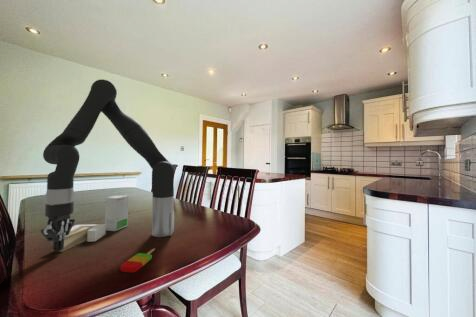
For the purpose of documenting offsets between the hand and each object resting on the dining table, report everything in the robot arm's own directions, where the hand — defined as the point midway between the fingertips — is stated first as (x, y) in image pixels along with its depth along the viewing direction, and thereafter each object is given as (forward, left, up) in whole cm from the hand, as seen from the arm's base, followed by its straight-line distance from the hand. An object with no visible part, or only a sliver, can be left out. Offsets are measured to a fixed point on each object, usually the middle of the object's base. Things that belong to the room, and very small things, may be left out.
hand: (58, 250), depth 71 cm
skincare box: (-7, -27, -2) cm, 28 cm away
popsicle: (-30, +6, -2) cm, 31 cm away
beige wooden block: (+1, -9, -2) cm, 9 cm away
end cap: (0, -15, -2) cm, 15 cm away
